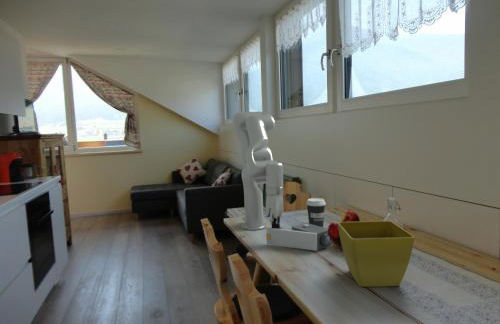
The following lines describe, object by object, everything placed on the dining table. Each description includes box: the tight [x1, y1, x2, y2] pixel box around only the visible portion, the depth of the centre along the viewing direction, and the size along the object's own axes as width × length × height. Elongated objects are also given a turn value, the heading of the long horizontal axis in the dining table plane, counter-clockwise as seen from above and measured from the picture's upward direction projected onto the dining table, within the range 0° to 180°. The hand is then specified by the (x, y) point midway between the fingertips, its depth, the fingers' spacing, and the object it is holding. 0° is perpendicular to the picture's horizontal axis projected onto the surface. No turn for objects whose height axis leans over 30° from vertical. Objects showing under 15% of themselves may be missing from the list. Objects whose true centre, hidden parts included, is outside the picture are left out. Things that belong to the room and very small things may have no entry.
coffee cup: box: [305, 197, 327, 227], centre depth 165 cm, size 10×10×15 cm
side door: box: [265, 227, 318, 252], centre depth 141 cm, size 22×2×7 cm, turn 63°
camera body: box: [291, 222, 332, 251], centre depth 145 cm, size 16×9×8 cm, turn 38°
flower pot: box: [337, 220, 415, 288], centre depth 110 cm, size 19×19×17 cm
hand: (275, 232), depth 147 cm, fingers closed
